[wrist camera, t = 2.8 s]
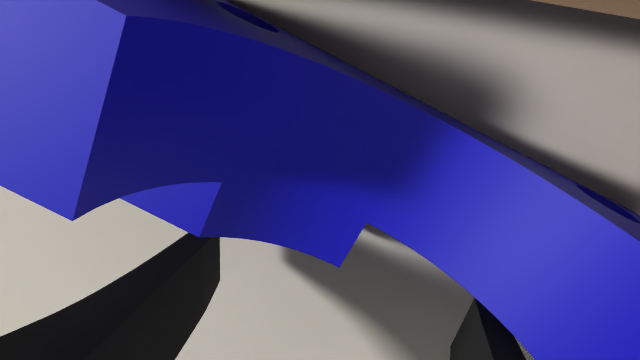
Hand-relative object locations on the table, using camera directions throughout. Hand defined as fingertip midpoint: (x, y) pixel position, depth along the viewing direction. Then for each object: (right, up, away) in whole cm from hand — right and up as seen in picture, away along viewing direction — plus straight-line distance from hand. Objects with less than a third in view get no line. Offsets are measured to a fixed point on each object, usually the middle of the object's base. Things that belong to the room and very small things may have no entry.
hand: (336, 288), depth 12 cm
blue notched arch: (+1, +3, 0) cm, 3 cm away
